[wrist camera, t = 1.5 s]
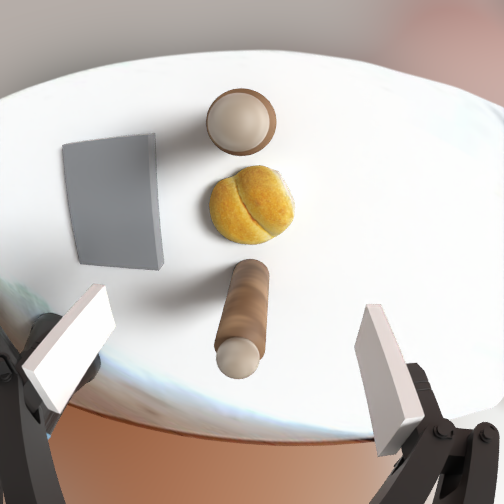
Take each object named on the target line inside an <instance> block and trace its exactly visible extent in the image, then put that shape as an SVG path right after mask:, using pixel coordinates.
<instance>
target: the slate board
mask: <svg viewBox="0 0 504 504" xmlns="http://www.w3.org/2000/svg"><path fill="white" fill-rule="evenodd" d="M62 146H63V159H64V170H65V179H66V188H67V195H68V202H69V209H70V215H71V221H72V227H73V232H74V238H75V243H76V247H77V252H78V257H79V261H80V264H86V265H97V266H108V267H120V268H133V269H145V270H160V268H161V267H162V265H163V264H164V258H163V249H162V239H161V229H160V217H159V205H158V190H157V173H156V151H155V133H150V134H138V135H128V136H118V137H109V138H101V139H94V140H87V141H80V142H73V143H69V144H64V145H62Z"/></svg>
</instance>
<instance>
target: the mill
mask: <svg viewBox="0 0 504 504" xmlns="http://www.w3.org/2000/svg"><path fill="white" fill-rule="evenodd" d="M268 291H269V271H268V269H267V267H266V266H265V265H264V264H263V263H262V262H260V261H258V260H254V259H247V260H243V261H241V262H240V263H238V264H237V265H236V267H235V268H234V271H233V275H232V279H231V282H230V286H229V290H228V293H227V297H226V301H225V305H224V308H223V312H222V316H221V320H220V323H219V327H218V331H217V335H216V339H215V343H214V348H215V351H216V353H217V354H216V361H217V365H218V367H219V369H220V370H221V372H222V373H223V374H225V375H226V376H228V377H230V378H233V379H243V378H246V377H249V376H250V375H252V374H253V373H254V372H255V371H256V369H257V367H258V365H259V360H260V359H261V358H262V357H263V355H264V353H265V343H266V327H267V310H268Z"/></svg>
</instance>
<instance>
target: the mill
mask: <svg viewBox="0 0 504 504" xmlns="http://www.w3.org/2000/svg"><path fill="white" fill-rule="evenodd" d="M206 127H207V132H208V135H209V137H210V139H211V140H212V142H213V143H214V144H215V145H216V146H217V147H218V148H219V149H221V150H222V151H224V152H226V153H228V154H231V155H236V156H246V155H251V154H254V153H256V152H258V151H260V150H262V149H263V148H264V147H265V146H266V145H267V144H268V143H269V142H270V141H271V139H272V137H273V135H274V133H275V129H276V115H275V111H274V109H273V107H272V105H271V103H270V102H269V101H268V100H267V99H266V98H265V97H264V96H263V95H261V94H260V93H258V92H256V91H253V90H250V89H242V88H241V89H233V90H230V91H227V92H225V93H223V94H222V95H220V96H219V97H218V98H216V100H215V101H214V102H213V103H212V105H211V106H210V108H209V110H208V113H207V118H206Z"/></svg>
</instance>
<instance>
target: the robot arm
mask: <svg viewBox="0 0 504 504" xmlns="http://www.w3.org/2000/svg"><path fill="white" fill-rule="evenodd" d="M115 327H116V326H115V322H114V319H113V315H112V311H111V308H110V304H109V300H108V296H107V292H106V288H105V285H99V284H93V285H92V286H91V287H90V288H89V289H88V290H87V291H86V292H85V293H84V294H83V295H82V296H81V298H80V299H79V300H78V301H77V302H76V303H75V304H74V305H73V306H72V307H71V309H70V310H69V311H68V312H67V313H66V314H65V315H64V316H63V317H62V316H59V315H56V314H52V313H46V314H43V315H41V316H40V317H39V318H38V319H37V320H36V321H35V323H34V324H33V326H32V328H31V333H30V336H29V338H28V340H27V342H26V345H25V347H24V350H23V351H22V352H21V354H19V352H18V351H17V349H16V348H15V347H14V345H13V344H12V342H11V341H10V339H9V338H8V336H7V335H6V333H5V332H4V330H3V329H2V327H1V326H0V504H3V492H4V497H5V502H6V504H66V503H65V500H64V497H63V494H62V491H61V488H60V485H59V482H58V478H57V475H56V471H55V468H54V464H53V460H52V456H51V452H50V448H49V443H48V439H49V438H50V437H51V433H52V431H53V430H54V428H55V426H56V424H57V422H58V420H59V418H60V417H61V415H62V413H63V411H64V409H65V408H66V406H67V404H68V402H69V401H70V399H71V397H72V396H73V394H74V393H75V392H77V391H78V390H79V389H80V388H81V387H82V386H84V385H85V384H86V383H88V382H90V381H91V380H93V379H94V377H95V376H96V374H97V373H98V371H99V369H100V365H101V362H100V357H99V354H98V352H99V351H100V349H101V348H102V346H103V345H104V343H105V342H106V340H107V339H108V337H109V336H110V334H111V333H112V331H113V330H114V328H115ZM354 348H355V352H356V356H357V360H358V364H359V368H360V372H361V377H362V381H363V385H364V390H365V394H366V399H367V403H368V408H369V413H370V418H371V423H372V428H373V433H374V438H375V443H376V449H377V455H378V457H380V456H387V455H394V454H396V453H397V452H398V451H399V449H400V448H401V449H402V453H403V456H402V457H401V458H400V459H399V460H398V461H397V463H396V464H395V465H394V467H395V468H394V469H393V470H392V472H391V474H390V475H389V476H388V478H387V480H386V481H385V482H384V484H383V485H382V486H381V488H380V489H379V491H378V492H377V493H376V495H375V496H374V497H373V499H372V500H371V501H370V503H369V504H424V503H425V501H426V499H427V497H428V496H429V494H430V492H431V490H432V488H433V486H434V484H435V483H436V481H437V479H438V477H439V481H438V484H437V488H436V492H435V496H434V499H433V503H432V504H494V497H495V490H496V482H497V472H498V459H499V432H498V430H497V428H496V427H495V426H494V425H492V424H490V423H488V422H482V423H480V424H478V425H477V426H476V427H475V428H474V430H472V429H461V428H456V427H455V426H454V424H453V423H452V422H451V421H449V420H448V419H445V418H443V416H442V414H441V411H440V409H439V406H438V403H437V401H436V398H435V396H434V393H433V391H432V390H431V386H430V383H429V382H428V378H427V376H426V374H425V371H424V370H423V369H422V368H421V367H420V366H419V365H418V364H417V363H409V364H406V363H405V360H404V358H403V355H402V353H401V350H400V348H399V345H398V343H397V341H396V338H395V336H394V333H393V331H392V329H391V326H390V324H389V322H388V319H387V317H386V315H385V313H384V310H383V308H382V306H381V304H366V307H365V311H364V314H363V318H362V322H361V325H360V329H359V332H358V336H357V339H356V343H355V346H354ZM439 475H440V476H439Z"/></svg>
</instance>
